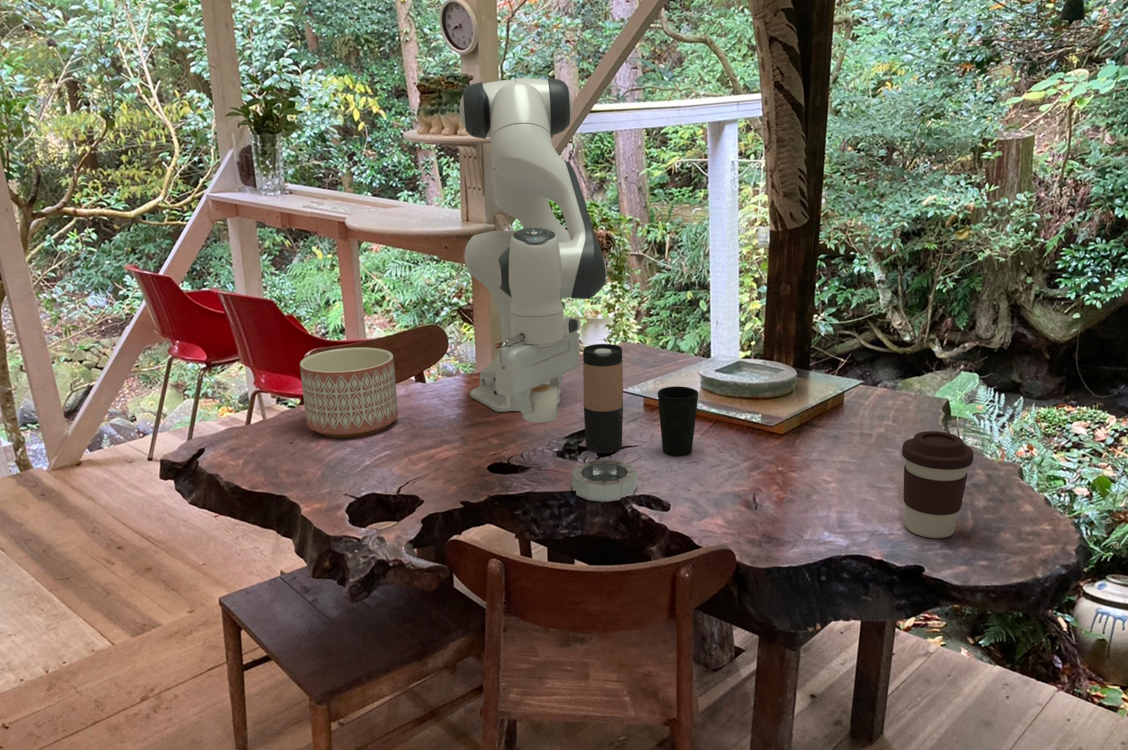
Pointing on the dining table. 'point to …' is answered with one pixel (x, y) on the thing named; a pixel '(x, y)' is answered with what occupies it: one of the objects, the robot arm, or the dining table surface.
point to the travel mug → (603, 397)
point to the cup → (677, 419)
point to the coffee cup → (934, 482)
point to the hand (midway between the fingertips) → (540, 407)
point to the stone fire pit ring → (604, 480)
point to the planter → (349, 391)
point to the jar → (543, 404)
